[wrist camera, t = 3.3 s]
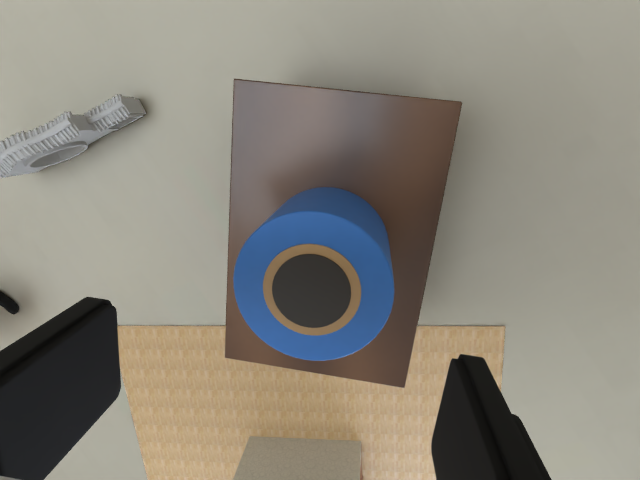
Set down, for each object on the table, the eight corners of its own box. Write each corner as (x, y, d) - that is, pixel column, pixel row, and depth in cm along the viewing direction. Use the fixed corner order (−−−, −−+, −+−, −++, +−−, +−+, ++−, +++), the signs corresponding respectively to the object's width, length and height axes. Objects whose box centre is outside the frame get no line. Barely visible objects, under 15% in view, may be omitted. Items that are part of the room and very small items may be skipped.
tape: (398, 195, 20) (407, 224, 14) (379, 311, 22) (381, 375, 16) (271, 179, 21) (234, 201, 15) (263, 294, 23) (228, 350, 17)
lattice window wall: (140, 94, 30) (87, 88, 24) (152, 116, 30) (102, 116, 25) (26, 158, 33) (-46, 166, 27) (38, 178, 33) (-30, 189, 28)
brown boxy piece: (432, 107, 28) (462, 101, 18) (395, 310, 33) (404, 388, 23) (279, 91, 29) (233, 78, 19) (266, 290, 34) (224, 357, 24)
